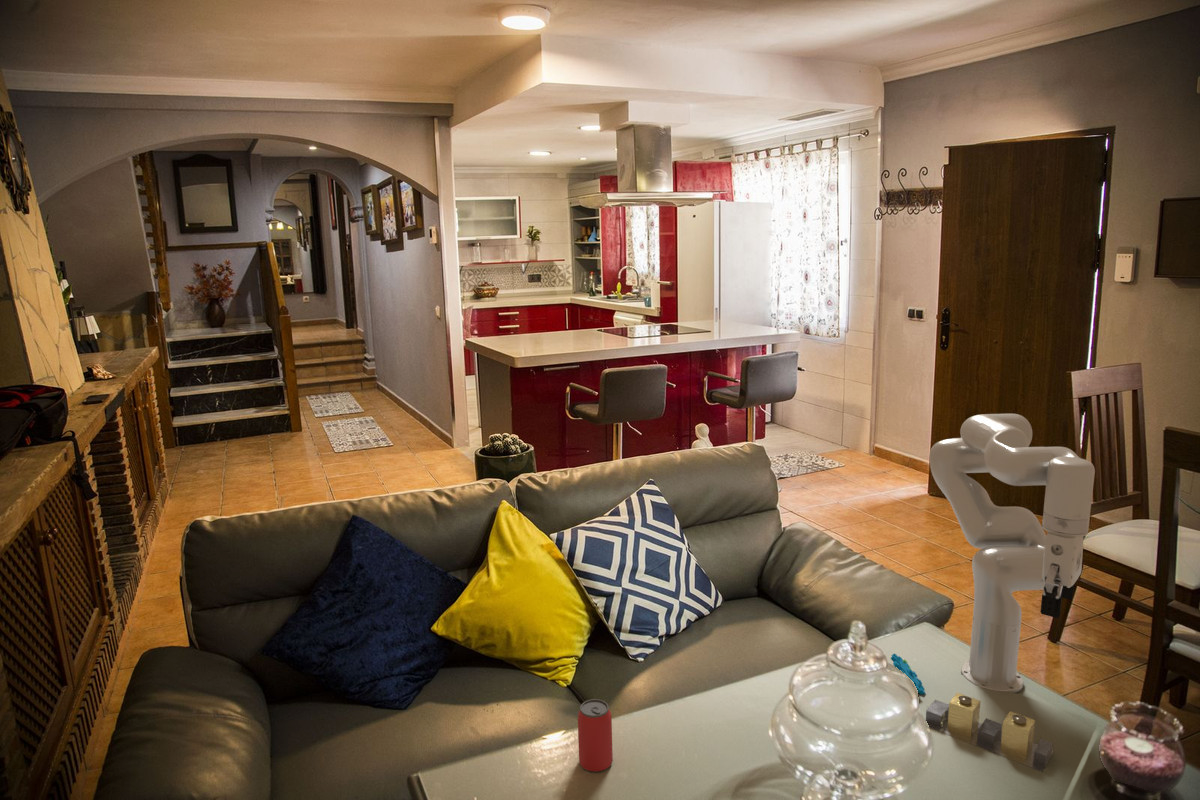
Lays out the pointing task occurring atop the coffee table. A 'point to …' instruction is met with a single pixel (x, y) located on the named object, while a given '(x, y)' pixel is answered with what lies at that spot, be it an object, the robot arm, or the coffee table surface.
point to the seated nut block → (963, 715)
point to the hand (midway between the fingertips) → (1056, 606)
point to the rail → (988, 737)
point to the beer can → (595, 735)
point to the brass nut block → (1017, 735)
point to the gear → (907, 672)
